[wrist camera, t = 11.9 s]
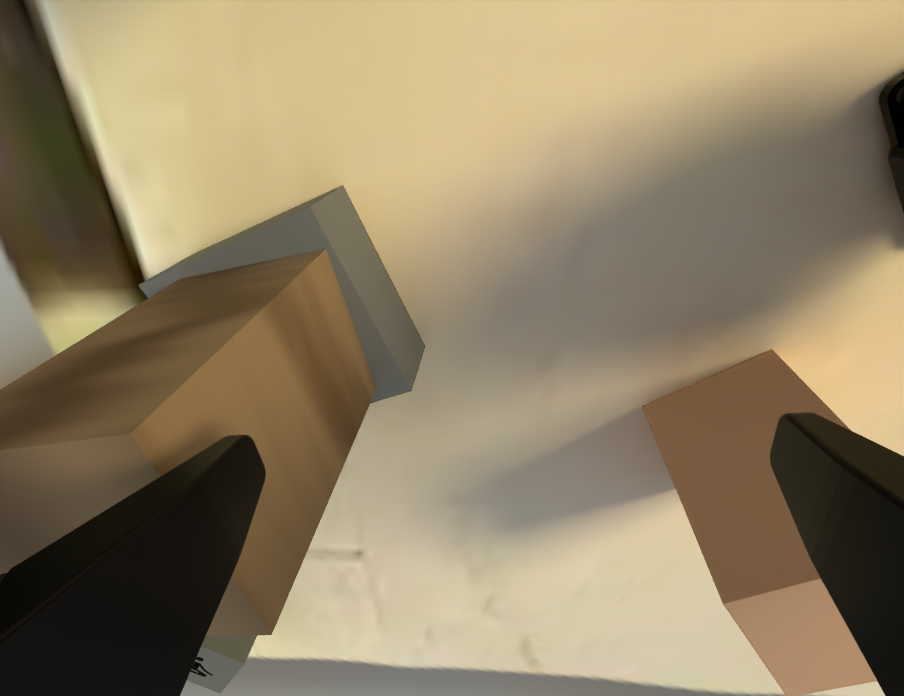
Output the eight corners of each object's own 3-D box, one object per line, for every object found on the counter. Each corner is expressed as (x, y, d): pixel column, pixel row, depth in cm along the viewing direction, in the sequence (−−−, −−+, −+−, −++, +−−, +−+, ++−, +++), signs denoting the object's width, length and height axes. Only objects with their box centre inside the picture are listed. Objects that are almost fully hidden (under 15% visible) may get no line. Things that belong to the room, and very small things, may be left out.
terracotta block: (772, 349, 21) (959, 542, 12) (813, 439, 23) (997, 658, 14) (641, 406, 23) (723, 604, 14) (691, 484, 25) (787, 697, 16)
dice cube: (192, 593, 35) (149, 665, 31) (212, 560, 33) (168, 632, 29) (254, 620, 36) (220, 693, 32) (277, 589, 34) (244, 664, 30)
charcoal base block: (345, 183, 19) (310, 206, 16) (426, 343, 23) (411, 390, 19) (197, 251, 22) (138, 285, 18) (290, 387, 25) (255, 437, 22)
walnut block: (326, 248, 17) (130, 433, 8) (376, 387, 19) (271, 634, 11) (180, 278, 18) (-125, 466, 9) (248, 405, 21) (62, 640, 12)
